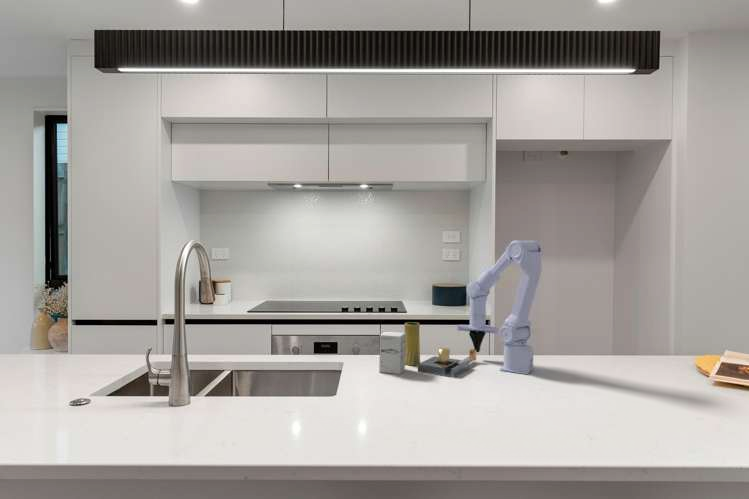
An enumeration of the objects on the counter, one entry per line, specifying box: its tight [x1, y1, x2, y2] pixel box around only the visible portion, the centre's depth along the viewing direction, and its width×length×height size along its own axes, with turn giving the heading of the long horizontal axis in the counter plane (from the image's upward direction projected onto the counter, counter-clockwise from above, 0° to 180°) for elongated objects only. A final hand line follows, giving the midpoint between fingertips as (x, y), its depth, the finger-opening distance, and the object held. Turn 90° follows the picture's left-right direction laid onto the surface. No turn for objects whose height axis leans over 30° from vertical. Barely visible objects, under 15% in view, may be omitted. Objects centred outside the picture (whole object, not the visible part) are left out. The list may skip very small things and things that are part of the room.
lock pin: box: [457, 348, 477, 366], centre depth 178 cm, size 2×14×4 cm, turn 148°
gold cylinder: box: [438, 347, 450, 365], centre depth 173 cm, size 4×4×7 cm
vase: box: [404, 321, 421, 367], centre depth 181 cm, size 6×6×14 cm
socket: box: [417, 355, 470, 378], centre depth 173 cm, size 13×13×2 cm
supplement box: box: [378, 331, 406, 375], centre depth 171 cm, size 7×7×13 cm
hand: (477, 351), depth 187 cm, fingers closed
